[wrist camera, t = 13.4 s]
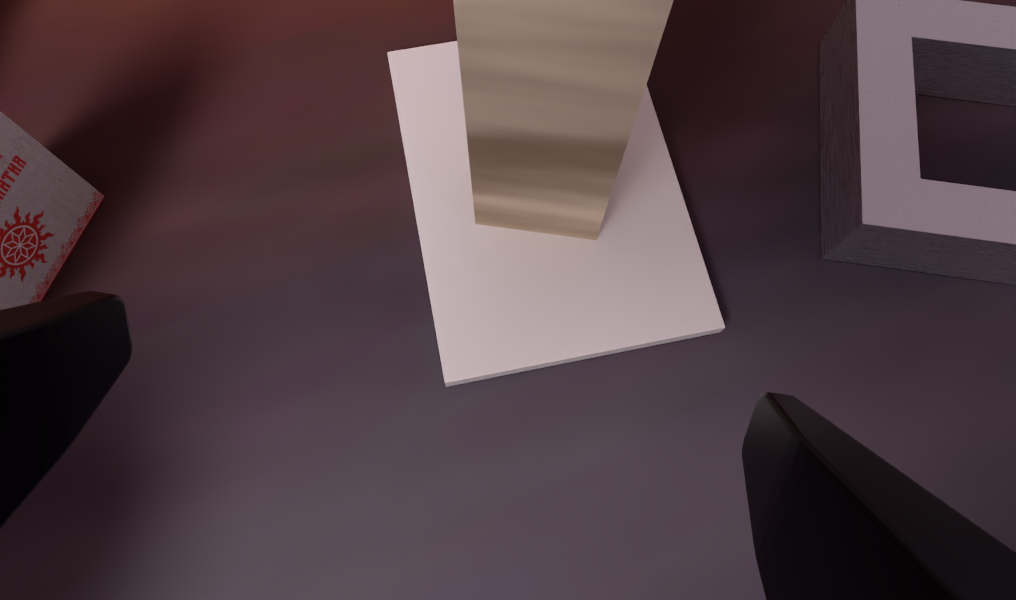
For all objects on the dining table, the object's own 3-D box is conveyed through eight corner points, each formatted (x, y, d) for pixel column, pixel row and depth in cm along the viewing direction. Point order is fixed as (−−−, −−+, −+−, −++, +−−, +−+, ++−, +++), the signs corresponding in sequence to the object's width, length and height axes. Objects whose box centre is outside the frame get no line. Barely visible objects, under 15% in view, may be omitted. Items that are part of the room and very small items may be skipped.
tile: (719, 332, 23) (725, 327, 23) (446, 386, 23) (444, 383, 22) (621, 24, 28) (623, 14, 27) (389, 62, 27) (387, 52, 27)
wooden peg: (596, 240, 24) (692, -58, 12) (475, 224, 24) (444, -87, 12) (607, 135, 25) (704, -228, 13) (493, 121, 26) (483, -251, 13)
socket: (1095, 295, 24) (1174, 265, 21) (821, 258, 24) (862, 223, 22) (1061, 72, 27) (1125, 20, 24) (819, 42, 28) (855, -13, 25)
